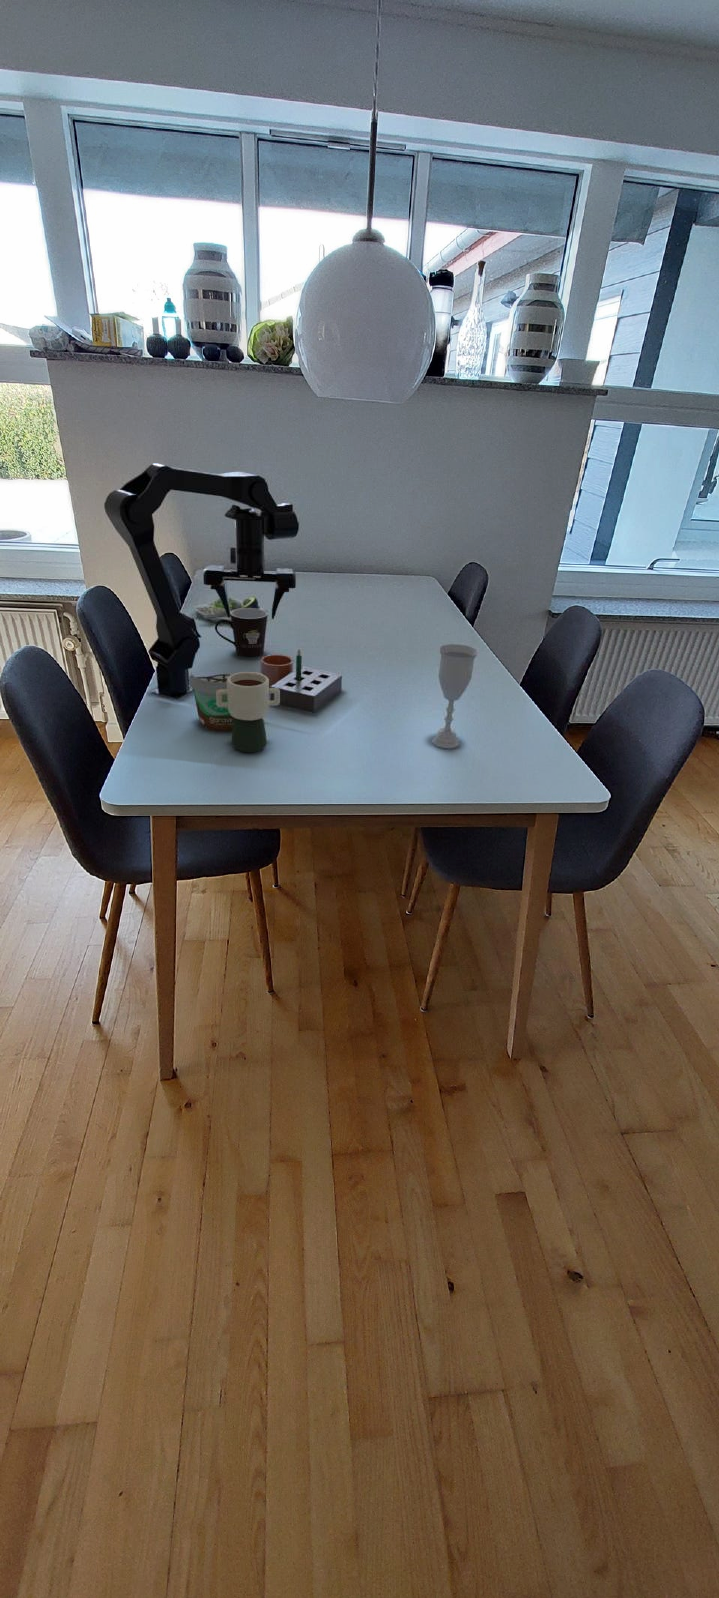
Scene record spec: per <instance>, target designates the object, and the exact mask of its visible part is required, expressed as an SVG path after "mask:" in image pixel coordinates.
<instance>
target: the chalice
mask: <svg viewBox="0 0 719 1598" xmlns="http://www.w3.org/2000/svg"><path fill="white" fill-rule="evenodd" d="M438 651H439V654H440V659H439V668H438V681H439V685H440V689H441V691H442V694H443V697H444V699H445V700H447V701H448V705H447V707H446V708H445V711H446V716H445V717H444V721H445V725H444V727H443V728H439V730H437V731H436V734H435V735H434V737H433V739H432V744H433V745H434V746H436V747H438V748H441V749H442V748H443V749H454V748H457V747H459V744H460V743H459V741H458V736H457V733H456V731H455V730H454V729H452V727H451V724H452V722H453V721H454V718H453V713H454V712H455V708H454V704H455V701H458V700H460V698H461V697H462V696H463V694H464V693H465V691H466V690H467V689H468V686H469V684H470V682H471V680H472V677H473V670H474V663H475V659H476V657H477V656H478V654H479V651H478V649H476V648H475V647H472V646H469V645H465V644H456V643H455V644H453V643H452V644H444V645H442V646H440V647H439V648H438Z"/></svg>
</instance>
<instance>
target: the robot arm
mask: <svg viewBox="0 0 719 1598" xmlns="http://www.w3.org/2000/svg"><path fill="white" fill-rule="evenodd" d="M171 491H177V492H185V493H192V494H200V495H207V496H216V497H221V498H223V499H226V500H229V501H232V502H235V503H238V504H242V505H245V506H247V507H248V508H241V507H240V505H236V504H232V505H231V506H230V508H229V509H228V510H227V511H226V512H225V513H224V517H225V518H227V519H231V520H234V536H235V539H234V540H235V546H234V547H232V546H231V547H230V548H229V550H230V551H229V552H230V553H229V559H230V560H229V561H230V564H231V565H235V570H226V569H225V565H211V564H209V565H206V567H205V568H204V570H203V573H202V575H203V576H202V577H203V585H205V586H210V590H214V591H215V592H216V594H217V595H218V597H219V599H221V601H222V603H223V606H224V608H225V611H226V613H227V616H228V618H230V605H229V599H228V598H229V593H228V584H227V581H230V582H231V581H232V582H256V583H257V582H258V583H274V589H273V590H274V591H273V598H272V606H271V620H275V616H276V614H277V610H278V608H279V605H280V602H281V600H282V598H283V596H284V594H285V593H289V592H290V589H296V587H297V576H296V570H294V569H293V568H282V567H281V568H279V567H276V572H266V571H265V565H266V564H265V563H266V562H265V558H266V557H265V539H267V540H268V541H273V540H284V539H294V538H295V537H296V536H297V535H298V533H299V529H300V522H299V520H298V517H297V514H296V512H295V511H294V505H293V503H288V502H282V503H277V502H276V501H275V499H274V498H273V496H272V494H271V492H270V491H269V486H268V483H267V480H266V479H265V478H264V477H263V476H260V475H259V474H258V475H257V474H253V473H249V472H244V471H233V472H232V471H229V472H228V471H227V472H224V473H210V472H206V471H205V472H204V471H198V470H192V469H185V468H180V467H179V468H178V467H173V466H168V465H166V464H165V465H164V464H161V463H152V464H150V465H149V466H147V467H146V468H145V469H144V471H143V472H141V473H140V474H138V475H137V476H135V477H133V478H132V479H131V480H128V481H127V482H126V483H124V484H123V486H122V487H120V488H119V489H114V490H112V491H111V492H110V493H109V494H108V495H107V496H106V499H105V501H104V502H103V503H104V504H103V506H104V507H103V509H104V511H105V514H106V516H107V518H108V520H109V521H110V523H111V524H112V526H113V527H114V529H115V530H116V532H117V534H118V535H119V536H120V537H121V538H122V540H123V541H124V542H125V544H126V545H127V546H128V548H129V550H130V553H131V556H132V557H133V560H134V563H135V565H136V568H137V570H138V572H139V575H140V578H141V581H142V583H143V586H144V587H145V590H146V592H147V596H148V598H149V600H150V603H151V605H152V608H153V610H154V612H155V615H156V622H155V630H156V635H157V639H156V640H155V641H154V642H153V644H152V645H151V647H150V648H148V650H147V651H148V655H149V656H150V658H151V660H152V661H154V662H156V663H157V665H156V666H155V671H156V683H157V688H156V689H154V690H152V691H151V693H152V694H155V695H160V696H164V697H167V698H172V699H178V700H179V699H180V698H182V697H184V696H186V695H188V694H189V693H191V692H194V689H193V688H192V687H191V686H190V685H189V677H190V675H189V674H190V673H189V669H192V668H193V665H194V663H195V659H196V655H197V653H198V652H199V649H200V648H201V642H200V639H199V638H201V639H202V636H201V634H200V633H199V631H198V628H197V623H196V620H195V619H194V618H193V617H191V616H189V615H187V614H185V613H183V612H182V611H181V610H180V607H179V605H178V602H177V599H176V597H175V594H174V591H173V589H172V586H171V584H170V583H171V582H170V580H169V578H168V575H167V573H166V570H165V568H164V565H163V562H162V559H161V557H160V554H159V551H158V549H157V546H156V543H155V522H154V517H153V514H155V512H156V511H157V510H158V509H159V508H160V507H161V506H162V504H163V502H164V501H165V499H166V497H167V496H168V493H170V492H171ZM254 509H256V510H259V511H260V512H257V511H256V510H254Z"/></svg>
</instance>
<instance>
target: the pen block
mask: <svg viewBox="0 0 719 1598" xmlns="http://www.w3.org/2000/svg"><path fill="white" fill-rule="evenodd" d="M342 684H343V674H340V673H334V672H331V671H326V670H321V669H316V668H311V667H307V666H302V668H301V681H299V680H296V669H294V670H293V672H292V673H290V674H289V675H287V676H286V677H284V678H283V679H281V680H280V681H278V682H277V683H275V684H274V685H272V686H270V688H278V689H279V690H280V703H279V705H278V706H283V707H288V708H291V709H297V710H300V711H305V712H309V713H313V714H314V713H316V712H317V711H318V710H319V709H320V708H322V707H323V706H324V705H325V704H327V703H328V702H329V701H330V700H331V699H333V698H334V697H335V696H336V695H338V694H339V693H340V692H341V691H342ZM273 700H274V693H270V701H273Z"/></svg>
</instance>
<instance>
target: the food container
mask: <svg viewBox="0 0 719 1598" xmlns="http://www.w3.org/2000/svg"><path fill="white" fill-rule="evenodd" d="M251 672H254V671H253V670H251ZM230 675H231V674H226V673H224V674H223V673H221V674H214V675H208V676H194V675H193V673H192V672H190V675H189V686H190V687H192V689H194V690H193V695H194V701H195V705H196V711H197V716H198V722H199V725H200V726H202V727H203V728H205V729H207V730H209V731H213V732H222V733H223V732H224V733H225V732H226V733H227V732H232V731H233V722H234V719H235V718H234V717H233V716H231V714H230V712H229V710H228V707H217V704H216V691H217V690H219V689H227V679H228V677H229V676H230ZM222 702H228V699H227V695H222Z"/></svg>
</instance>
